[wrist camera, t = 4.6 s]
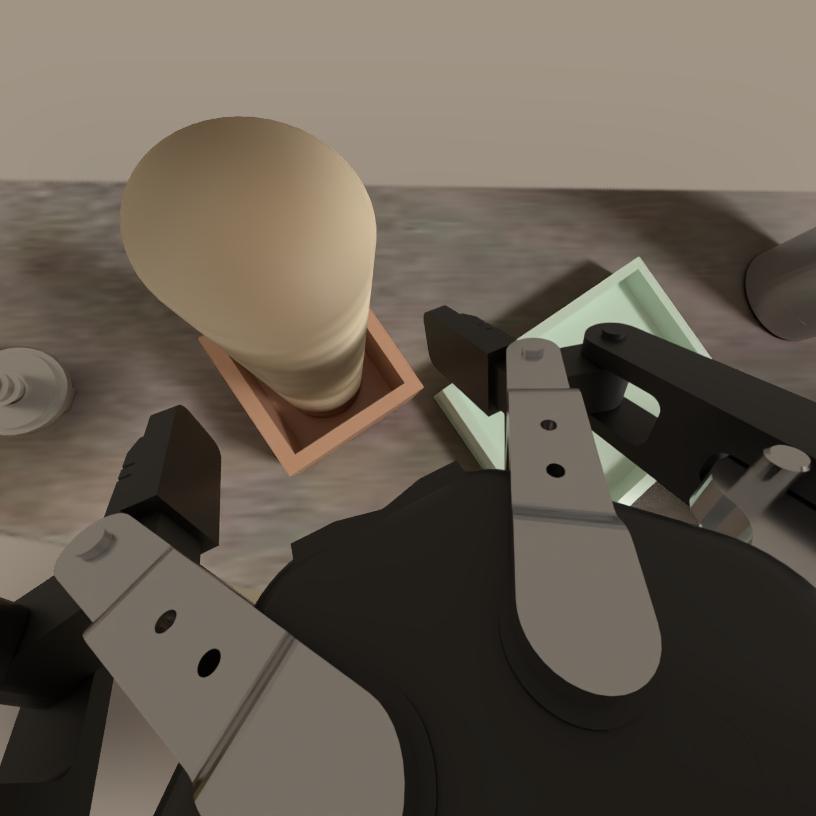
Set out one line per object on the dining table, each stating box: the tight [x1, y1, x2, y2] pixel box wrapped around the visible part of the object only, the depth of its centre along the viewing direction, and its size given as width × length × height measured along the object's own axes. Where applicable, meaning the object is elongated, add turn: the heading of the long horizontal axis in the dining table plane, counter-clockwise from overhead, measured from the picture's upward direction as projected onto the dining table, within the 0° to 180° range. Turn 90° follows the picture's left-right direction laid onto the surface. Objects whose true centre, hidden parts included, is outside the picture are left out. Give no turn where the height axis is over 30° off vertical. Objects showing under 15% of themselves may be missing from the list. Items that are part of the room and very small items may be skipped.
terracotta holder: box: [197, 307, 424, 476], centre depth 20 cm, size 9×9×5 cm
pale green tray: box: [433, 257, 711, 506], centre depth 24 cm, size 20×14×2 cm
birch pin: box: [120, 117, 376, 418], centre depth 14 cm, size 5×5×15 cm
